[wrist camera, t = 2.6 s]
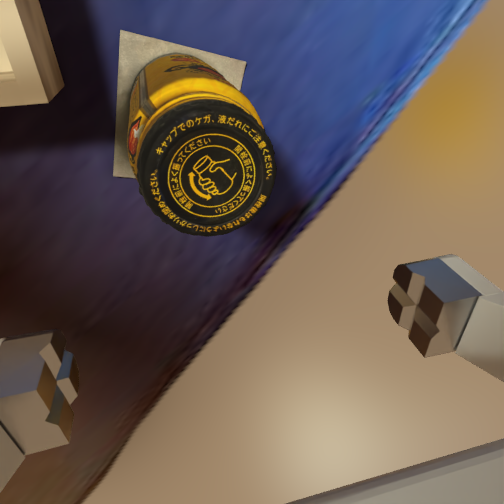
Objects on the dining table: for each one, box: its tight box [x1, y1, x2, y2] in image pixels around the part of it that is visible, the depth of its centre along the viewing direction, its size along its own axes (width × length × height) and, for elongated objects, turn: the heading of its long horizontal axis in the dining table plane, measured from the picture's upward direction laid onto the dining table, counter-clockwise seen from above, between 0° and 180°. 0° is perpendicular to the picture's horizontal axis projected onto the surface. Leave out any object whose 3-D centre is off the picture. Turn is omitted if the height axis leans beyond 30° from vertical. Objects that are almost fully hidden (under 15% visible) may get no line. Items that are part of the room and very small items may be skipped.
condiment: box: [113, 30, 277, 236], centre depth 18 cm, size 7×8×12 cm
